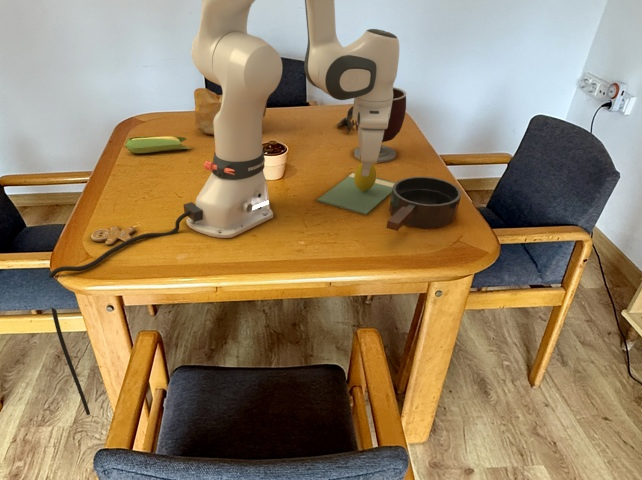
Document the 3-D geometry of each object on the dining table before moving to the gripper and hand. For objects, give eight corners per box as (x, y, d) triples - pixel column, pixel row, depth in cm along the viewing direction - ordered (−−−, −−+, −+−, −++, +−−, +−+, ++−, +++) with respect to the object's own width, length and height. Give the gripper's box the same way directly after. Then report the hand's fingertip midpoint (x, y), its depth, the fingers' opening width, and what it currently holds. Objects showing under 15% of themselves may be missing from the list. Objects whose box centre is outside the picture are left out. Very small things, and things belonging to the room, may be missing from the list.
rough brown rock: (267, 122, 183) (266, 74, 174) (267, 135, 170) (265, 83, 161) (201, 125, 185) (196, 77, 175) (195, 138, 171) (189, 87, 162)
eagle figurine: (365, 129, 171) (359, 115, 176) (356, 112, 165) (350, 97, 171) (344, 142, 173) (338, 128, 179) (334, 126, 168) (329, 111, 174)
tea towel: (366, 215, 130) (366, 213, 130) (317, 201, 136) (317, 199, 136) (400, 185, 142) (400, 183, 142) (353, 173, 148) (353, 172, 148)
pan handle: (397, 231, 115) (398, 223, 114) (386, 227, 117) (387, 220, 115) (418, 210, 122) (419, 202, 121) (407, 207, 123) (409, 200, 122)
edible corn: (127, 150, 165) (124, 135, 162) (191, 146, 166) (190, 131, 163) (126, 157, 161) (123, 142, 158) (192, 152, 163) (190, 137, 160)
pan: (441, 235, 122) (446, 211, 118) (378, 218, 129) (381, 194, 125) (464, 209, 131) (470, 186, 127) (404, 194, 138) (408, 171, 134)
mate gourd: (407, 153, 158) (420, 80, 145) (380, 167, 151) (390, 92, 138) (365, 140, 166) (373, 70, 153) (337, 153, 159) (343, 81, 146)
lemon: (373, 187, 141) (377, 157, 135) (374, 196, 137) (378, 166, 131) (352, 186, 141) (355, 157, 136) (353, 196, 137) (356, 165, 132)
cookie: (131, 241, 121) (87, 242, 121) (132, 245, 122) (88, 246, 122) (136, 223, 128) (94, 225, 127) (136, 227, 128) (95, 228, 128)
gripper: (356, 96, 133) (349, 151, 142) (360, 123, 117) (352, 183, 127) (381, 97, 132) (373, 152, 141) (389, 124, 117) (379, 184, 126)
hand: (363, 167), depth 134 cm, fingers open, 8 cm apart
